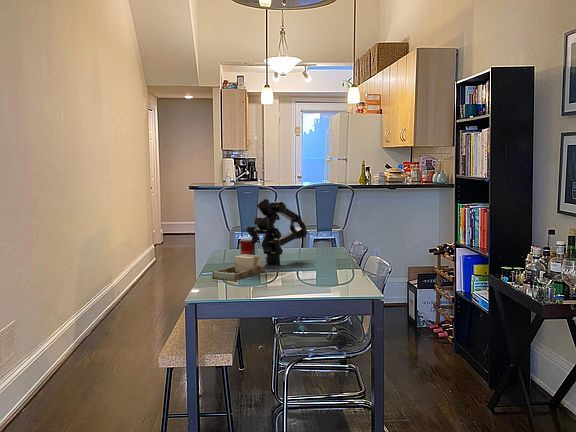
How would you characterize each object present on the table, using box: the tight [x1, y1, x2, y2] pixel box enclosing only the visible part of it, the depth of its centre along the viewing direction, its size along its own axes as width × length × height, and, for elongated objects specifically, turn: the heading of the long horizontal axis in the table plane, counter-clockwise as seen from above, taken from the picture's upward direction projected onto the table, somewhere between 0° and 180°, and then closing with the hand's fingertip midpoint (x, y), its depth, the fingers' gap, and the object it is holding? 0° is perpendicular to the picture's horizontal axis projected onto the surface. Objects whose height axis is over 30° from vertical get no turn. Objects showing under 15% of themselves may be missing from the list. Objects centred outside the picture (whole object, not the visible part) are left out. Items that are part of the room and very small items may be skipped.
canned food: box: [240, 237, 256, 255], centre depth 320 cm, size 8×8×11 cm
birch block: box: [234, 254, 262, 272], centre depth 278 cm, size 8×10×8 cm
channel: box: [212, 265, 266, 283], centre depth 273 cm, size 23×14×4 cm, turn 146°
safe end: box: [213, 272, 235, 283], centre depth 267 cm, size 10×14×4 cm
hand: (257, 245), depth 284 cm, fingers open, 6 cm apart
